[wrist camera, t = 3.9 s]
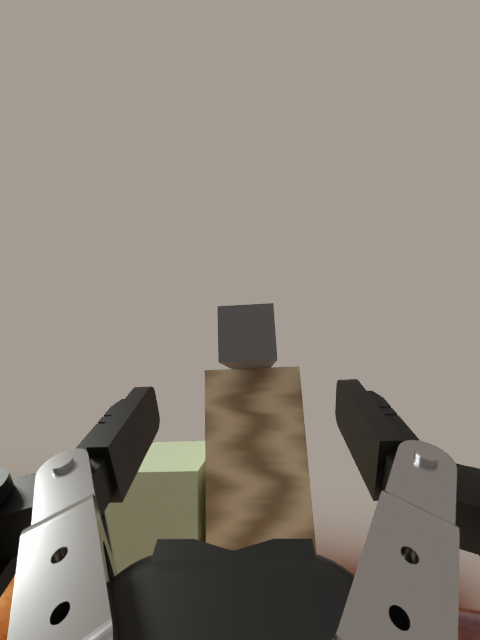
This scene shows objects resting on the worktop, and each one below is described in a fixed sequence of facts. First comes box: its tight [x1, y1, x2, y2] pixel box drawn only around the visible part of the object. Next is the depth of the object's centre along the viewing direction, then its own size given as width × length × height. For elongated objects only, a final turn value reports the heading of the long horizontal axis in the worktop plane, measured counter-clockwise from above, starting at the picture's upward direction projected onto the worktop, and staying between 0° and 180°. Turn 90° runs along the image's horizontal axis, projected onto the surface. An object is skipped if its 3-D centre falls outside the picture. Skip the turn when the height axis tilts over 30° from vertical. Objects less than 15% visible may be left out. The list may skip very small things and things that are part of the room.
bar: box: [218, 303, 277, 369], centre depth 31 cm, size 4×26×4 cm, turn 176°
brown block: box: [205, 367, 316, 554], centre depth 31 cm, size 10×16×32 cm, turn 176°
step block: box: [105, 441, 206, 573], centre depth 31 cm, size 10×14×22 cm
